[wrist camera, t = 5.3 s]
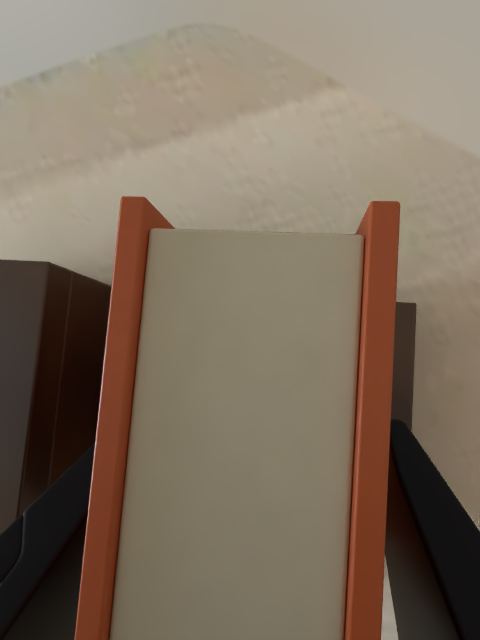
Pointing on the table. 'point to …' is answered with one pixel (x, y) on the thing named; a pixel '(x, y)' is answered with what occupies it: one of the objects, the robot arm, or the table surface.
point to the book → (242, 434)
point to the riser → (82, 374)
